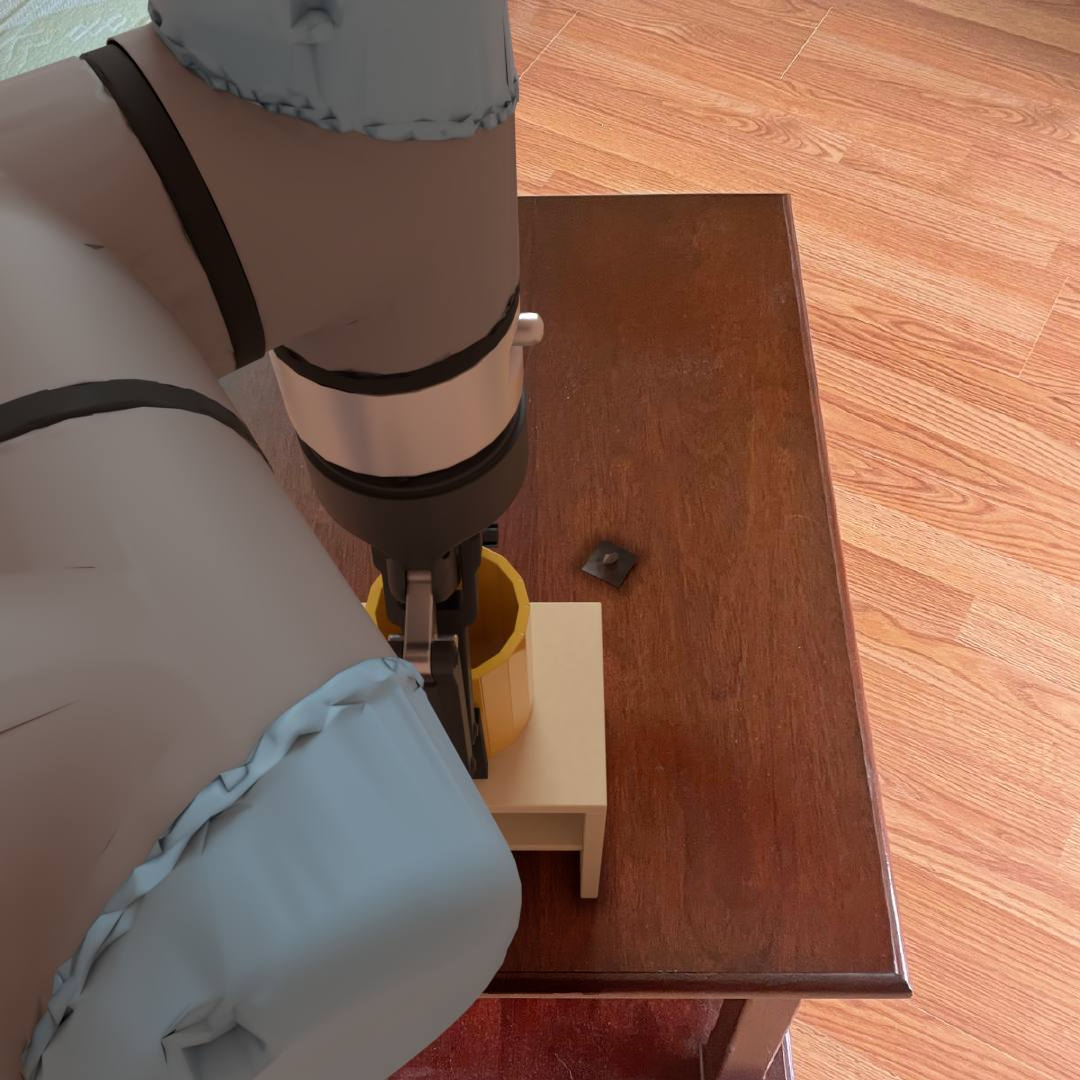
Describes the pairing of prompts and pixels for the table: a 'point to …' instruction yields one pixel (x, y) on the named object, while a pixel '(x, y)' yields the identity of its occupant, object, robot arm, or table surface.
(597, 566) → the dark square tile
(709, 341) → the table surface
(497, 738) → the cup
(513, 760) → the shelf
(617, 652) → the table surface
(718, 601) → the table surface
